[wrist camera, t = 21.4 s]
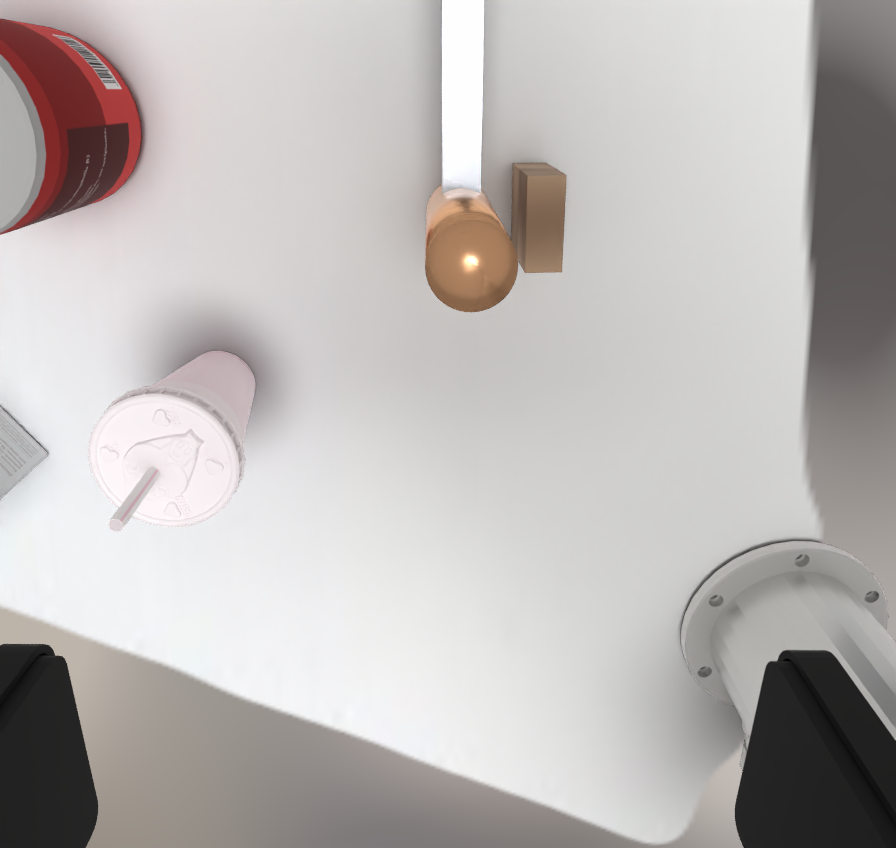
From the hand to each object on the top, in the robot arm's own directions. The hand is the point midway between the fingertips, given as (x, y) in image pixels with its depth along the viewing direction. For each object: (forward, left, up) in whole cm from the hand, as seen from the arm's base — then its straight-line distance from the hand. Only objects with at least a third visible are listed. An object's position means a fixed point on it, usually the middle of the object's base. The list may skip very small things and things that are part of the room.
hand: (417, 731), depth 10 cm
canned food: (+7, +17, -31) cm, 36 cm away
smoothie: (-6, +11, -31) cm, 34 cm away
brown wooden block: (+3, -5, -31) cm, 31 cm away
